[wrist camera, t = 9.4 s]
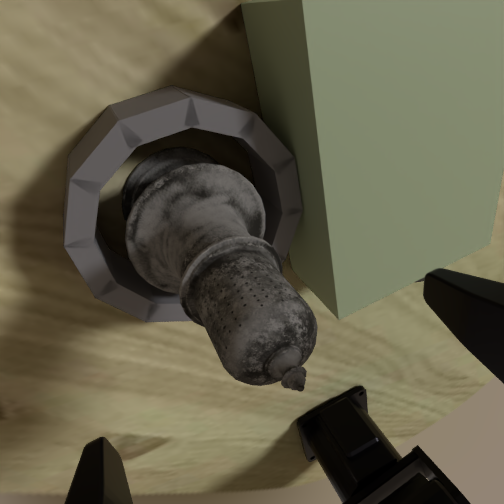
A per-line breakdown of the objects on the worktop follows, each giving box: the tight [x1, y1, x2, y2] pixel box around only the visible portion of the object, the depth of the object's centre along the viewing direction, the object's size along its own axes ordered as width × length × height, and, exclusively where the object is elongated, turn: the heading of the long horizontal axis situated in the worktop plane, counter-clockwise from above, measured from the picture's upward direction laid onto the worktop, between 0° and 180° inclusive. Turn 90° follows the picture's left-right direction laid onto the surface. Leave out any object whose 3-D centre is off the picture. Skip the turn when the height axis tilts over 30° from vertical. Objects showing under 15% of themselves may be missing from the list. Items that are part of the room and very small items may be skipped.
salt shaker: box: [122, 147, 317, 391], centre depth 14 cm, size 6×6×12 cm
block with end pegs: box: [63, 0, 504, 322], centre depth 18 cm, size 17×20×5 cm
